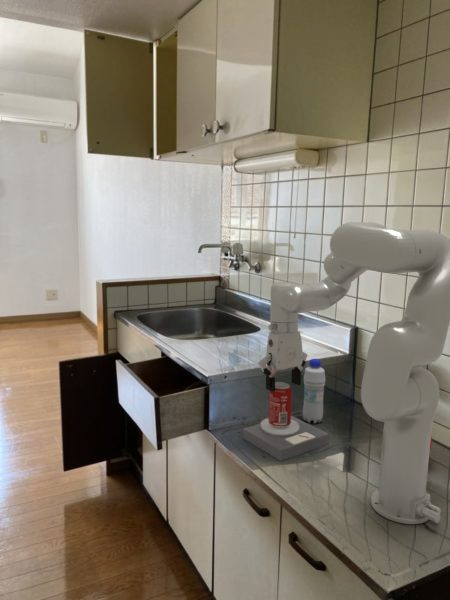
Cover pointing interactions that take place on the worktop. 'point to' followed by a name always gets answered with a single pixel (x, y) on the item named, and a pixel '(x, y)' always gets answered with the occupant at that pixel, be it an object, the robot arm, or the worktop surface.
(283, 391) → the beverage can
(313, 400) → the bottle
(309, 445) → the scale
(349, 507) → the worktop surface
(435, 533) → the worktop surface
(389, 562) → the worktop surface
